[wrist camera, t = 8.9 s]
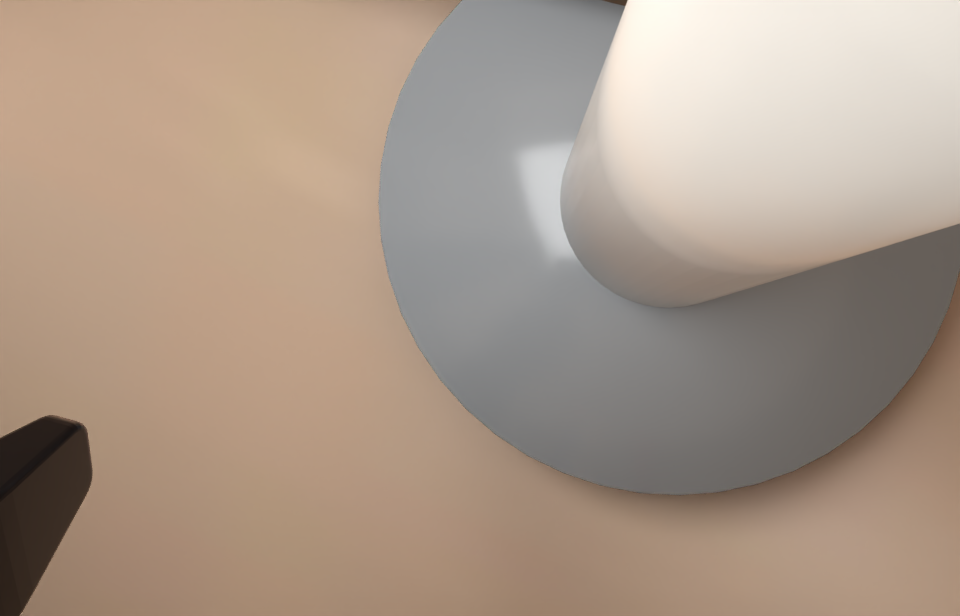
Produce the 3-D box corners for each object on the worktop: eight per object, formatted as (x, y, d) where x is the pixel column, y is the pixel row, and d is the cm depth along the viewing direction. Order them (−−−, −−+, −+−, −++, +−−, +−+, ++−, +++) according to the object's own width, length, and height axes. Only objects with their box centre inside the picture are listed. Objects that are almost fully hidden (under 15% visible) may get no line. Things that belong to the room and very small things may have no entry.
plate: (868, 549, 19) (895, 561, 17) (324, 408, 19) (312, 410, 18) (988, 14, 19) (1021, -9, 18) (462, -112, 20) (460, -144, 18)
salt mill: (747, 331, 18) (1907, 166, 3) (536, 277, 18) (740, -116, 3) (797, 124, 18) (2072, -889, 3) (589, 72, 18) (986, -1113, 4)
